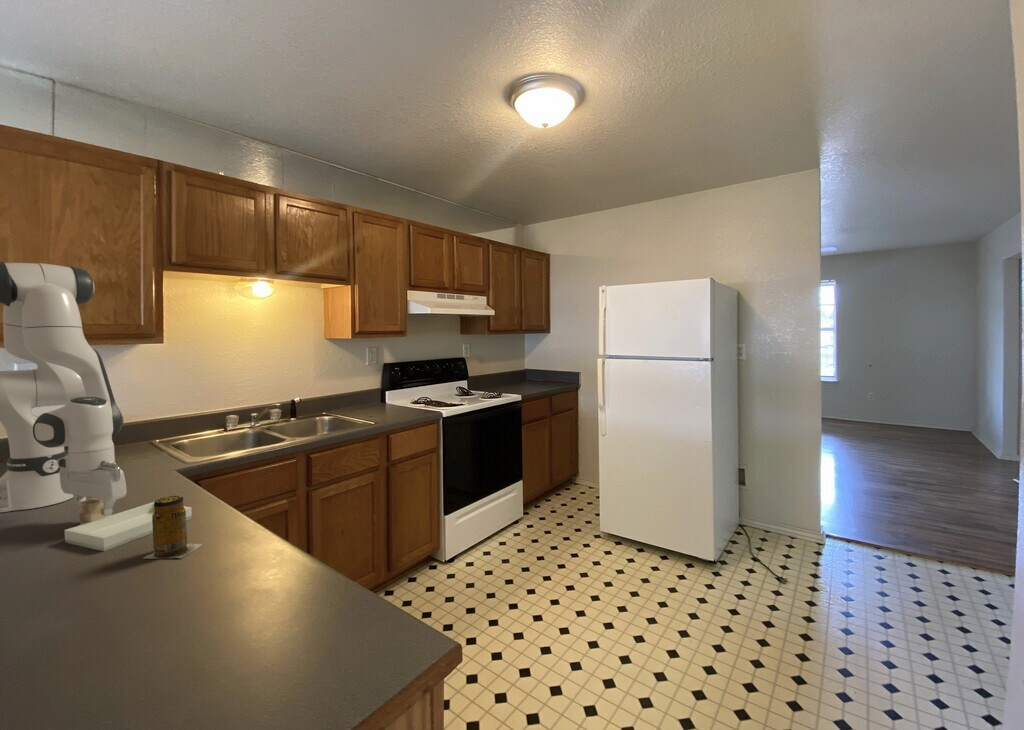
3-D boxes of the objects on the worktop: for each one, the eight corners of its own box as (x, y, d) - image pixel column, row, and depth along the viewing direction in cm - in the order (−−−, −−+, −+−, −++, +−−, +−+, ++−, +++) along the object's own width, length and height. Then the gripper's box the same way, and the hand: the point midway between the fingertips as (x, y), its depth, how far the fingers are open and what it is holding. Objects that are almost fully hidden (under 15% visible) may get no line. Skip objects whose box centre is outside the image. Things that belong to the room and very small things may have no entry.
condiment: (167, 544, 107) (165, 493, 106) (204, 544, 106) (201, 493, 106) (142, 559, 99) (139, 505, 99) (181, 559, 99) (178, 505, 99)
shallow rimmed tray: (65, 542, 108) (64, 530, 107) (155, 512, 126) (154, 501, 126) (104, 551, 103) (103, 538, 103) (192, 518, 122) (191, 507, 122)
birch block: (80, 525, 118) (78, 502, 118) (100, 518, 122) (99, 496, 122) (91, 527, 116) (90, 504, 116) (111, 520, 121) (110, 498, 120)
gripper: (132, 460, 118) (135, 513, 119) (82, 454, 125) (84, 504, 125) (104, 466, 112) (107, 522, 113) (52, 460, 119) (55, 512, 119)
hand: (95, 512), depth 119 cm, fingers open, 8 cm apart
